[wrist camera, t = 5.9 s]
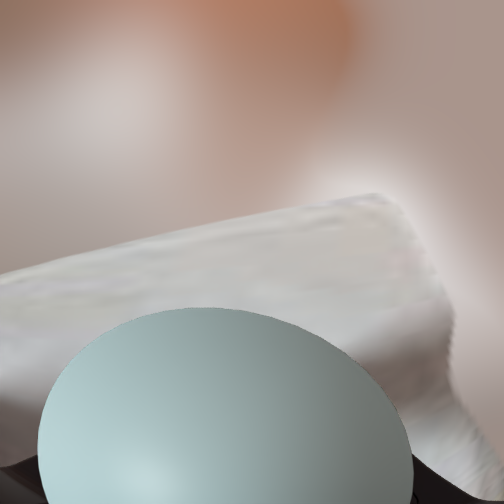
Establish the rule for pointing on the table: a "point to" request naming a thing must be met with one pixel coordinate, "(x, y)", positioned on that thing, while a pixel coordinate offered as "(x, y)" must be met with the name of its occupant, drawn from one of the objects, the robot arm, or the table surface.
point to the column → (220, 418)
